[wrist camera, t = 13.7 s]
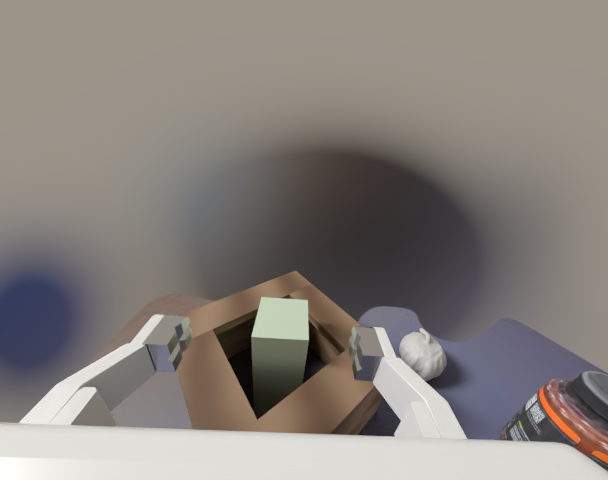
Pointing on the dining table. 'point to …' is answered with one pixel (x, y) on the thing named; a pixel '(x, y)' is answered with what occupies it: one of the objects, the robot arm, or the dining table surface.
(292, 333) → the green peg
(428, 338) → the garlic
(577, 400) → the supplement bottle
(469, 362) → the dining table surface
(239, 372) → the dining table surface
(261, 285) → the box
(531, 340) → the dining table surface
